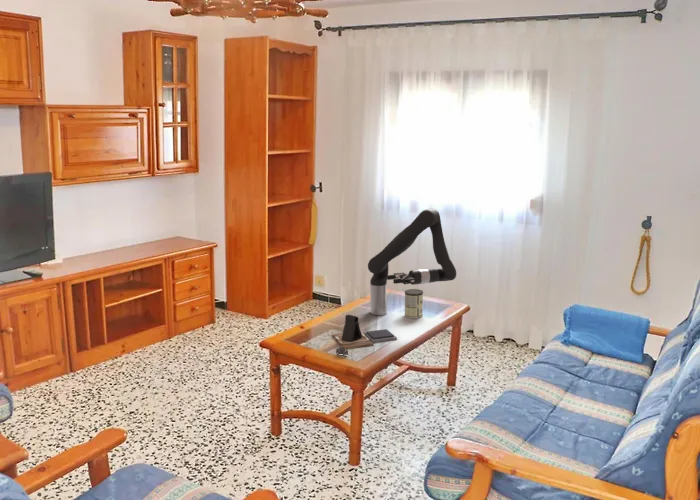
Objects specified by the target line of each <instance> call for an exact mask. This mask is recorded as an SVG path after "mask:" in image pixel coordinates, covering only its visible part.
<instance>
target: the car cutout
mask: <svg viewBox="0 0 700 500" xmlns="http://www.w3.org/2000/svg"><path fill="white" fill-rule="evenodd" d="M335 351H336V352H335V355H336V354H343V355H345V356H346V355H348V356H349V351H348V349H345V348H343V347H342V346H339V347H338V348H337V349H336V350H335ZM343 355H342V356H343ZM345 356H344V357H345ZM346 357H347V356H346Z"/></svg>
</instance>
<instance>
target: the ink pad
mask: <svg viewBox="0 0 700 500" xmlns="http://www.w3.org/2000/svg"><path fill="white" fill-rule="evenodd" d="M363 334H364V335H365V336H366V337H367V338H368V339H369V340H370V341H371V342H372V343H373V344H374V343H381V342H382V343H384V342H389V341H390V342H391V341H397V340H398V337H397V336H396V335H395V334H393V333H392V332H391V331H390V330H389V329H387V328H385V329H377V330H368V331H364V332H363Z"/></svg>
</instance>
